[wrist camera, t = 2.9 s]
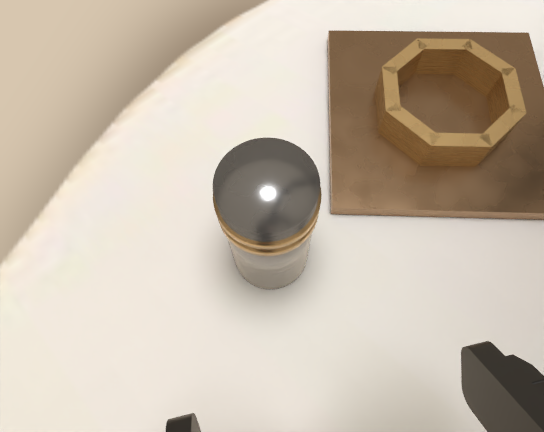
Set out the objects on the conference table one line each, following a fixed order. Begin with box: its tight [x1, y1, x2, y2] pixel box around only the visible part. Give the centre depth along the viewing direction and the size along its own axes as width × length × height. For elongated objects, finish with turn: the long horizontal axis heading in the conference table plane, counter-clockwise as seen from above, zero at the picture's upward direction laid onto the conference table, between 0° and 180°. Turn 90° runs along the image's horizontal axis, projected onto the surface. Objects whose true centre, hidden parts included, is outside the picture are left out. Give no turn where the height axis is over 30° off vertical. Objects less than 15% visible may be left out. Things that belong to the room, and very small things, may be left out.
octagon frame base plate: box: [328, 31, 544, 220], centre depth 31 cm, size 16×16×4 cm
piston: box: [213, 138, 321, 289], centre depth 24 cm, size 5×5×10 cm
